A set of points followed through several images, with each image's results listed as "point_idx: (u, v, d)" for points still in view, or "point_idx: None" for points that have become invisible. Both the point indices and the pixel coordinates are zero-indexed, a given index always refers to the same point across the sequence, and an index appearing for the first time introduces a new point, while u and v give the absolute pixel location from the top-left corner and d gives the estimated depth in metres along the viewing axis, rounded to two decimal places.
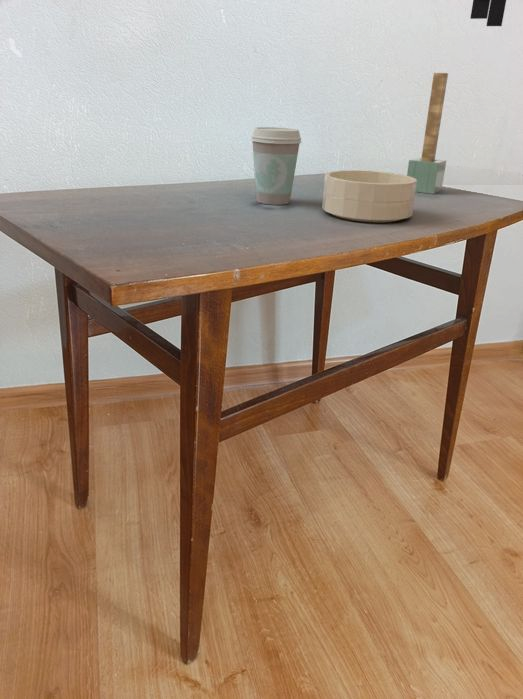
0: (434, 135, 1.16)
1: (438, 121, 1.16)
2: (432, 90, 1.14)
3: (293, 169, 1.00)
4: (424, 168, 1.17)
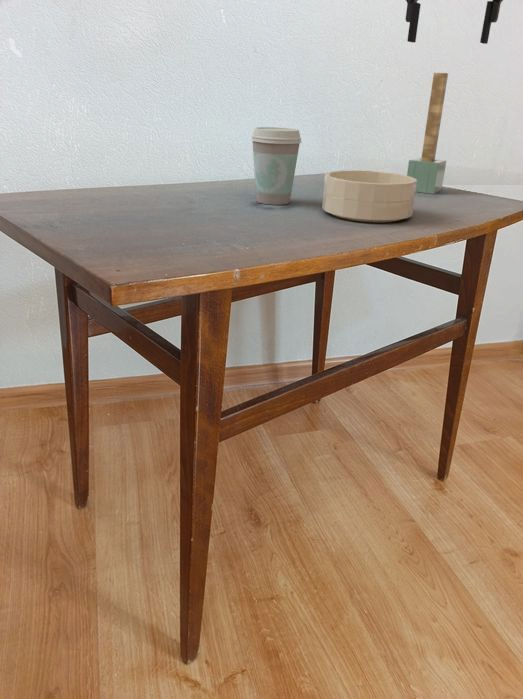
0: (434, 135, 1.16)
1: (438, 121, 1.16)
2: (432, 90, 1.14)
3: (293, 169, 1.00)
4: (424, 168, 1.17)
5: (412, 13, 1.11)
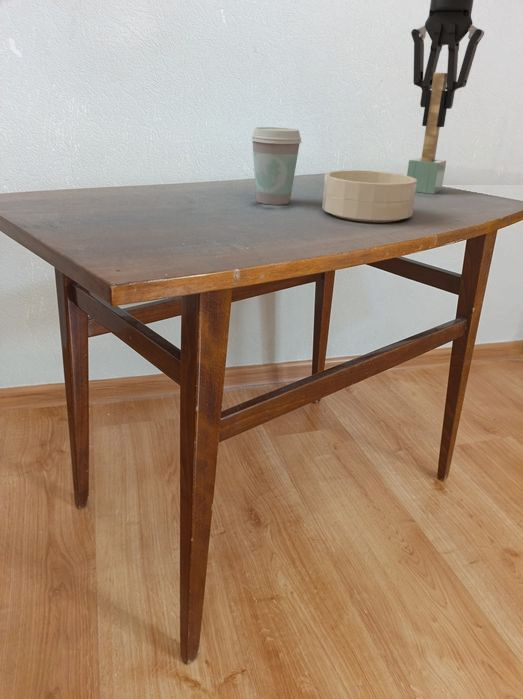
0: (434, 135, 1.16)
1: None
2: (432, 90, 1.14)
3: (293, 169, 1.00)
4: (424, 168, 1.17)
5: (427, 100, 1.15)
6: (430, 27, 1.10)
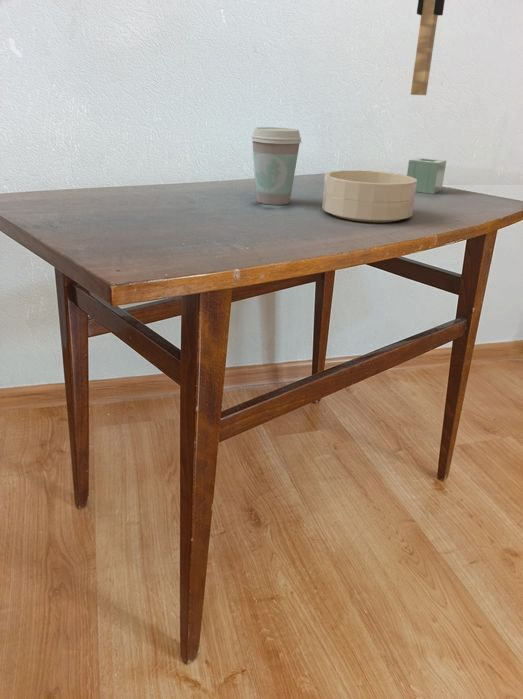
0: (431, 24, 0.99)
1: None
2: None
3: (293, 169, 1.00)
4: (424, 168, 1.17)
5: None
6: None
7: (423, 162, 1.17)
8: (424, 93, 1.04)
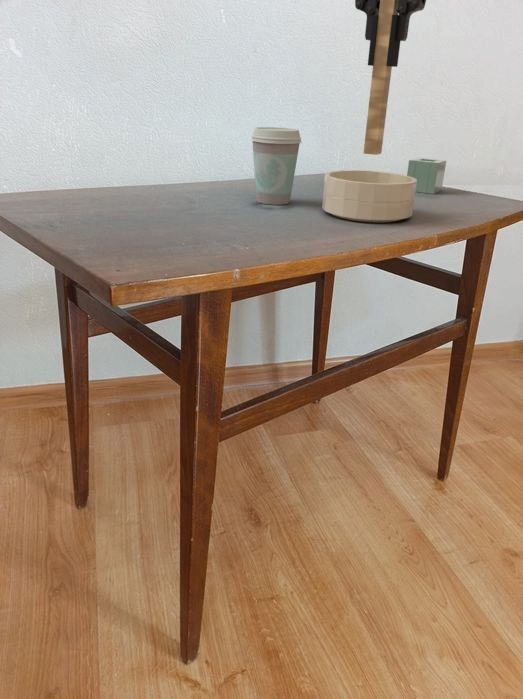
0: (384, 77, 0.87)
1: None
2: (380, 15, 0.84)
3: (293, 169, 1.00)
4: (424, 168, 1.17)
5: (373, 29, 0.85)
6: None
7: (423, 162, 1.17)
8: (378, 152, 0.92)
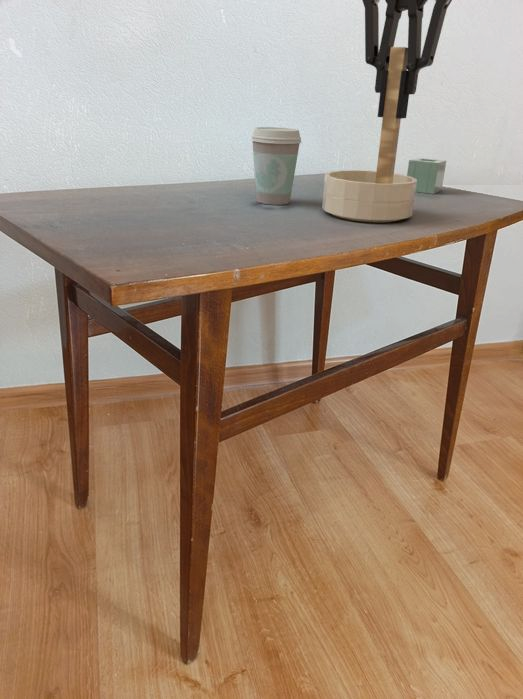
0: (393, 129, 0.90)
1: None
2: (389, 70, 0.87)
3: (293, 169, 1.00)
4: (424, 168, 1.17)
5: (383, 83, 0.88)
6: None
7: (423, 162, 1.17)
8: None
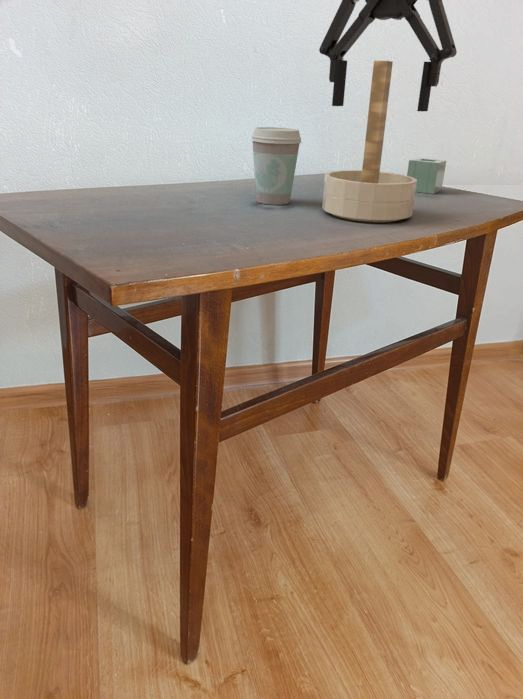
0: (377, 141, 0.91)
1: (381, 123, 0.90)
2: (372, 83, 0.88)
3: (293, 169, 1.00)
4: (424, 168, 1.17)
5: (336, 73, 0.90)
6: None
7: (423, 162, 1.17)
8: None
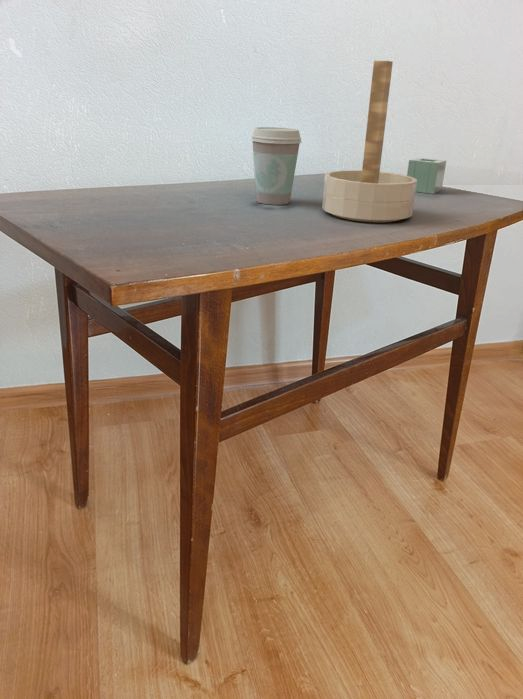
0: (377, 141, 0.91)
1: (381, 123, 0.90)
2: (372, 83, 0.88)
3: (293, 169, 1.00)
4: (424, 168, 1.17)
5: None
6: None
7: (423, 162, 1.17)
8: None
